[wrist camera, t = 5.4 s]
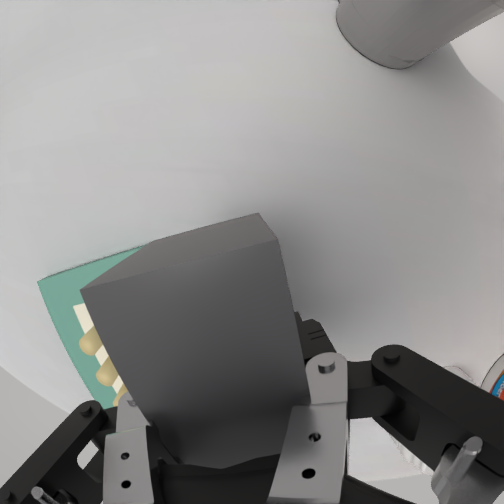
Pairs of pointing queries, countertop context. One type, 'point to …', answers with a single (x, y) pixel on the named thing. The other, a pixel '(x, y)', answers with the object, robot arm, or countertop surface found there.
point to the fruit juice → (495, 379)
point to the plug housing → (205, 340)
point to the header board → (84, 327)
